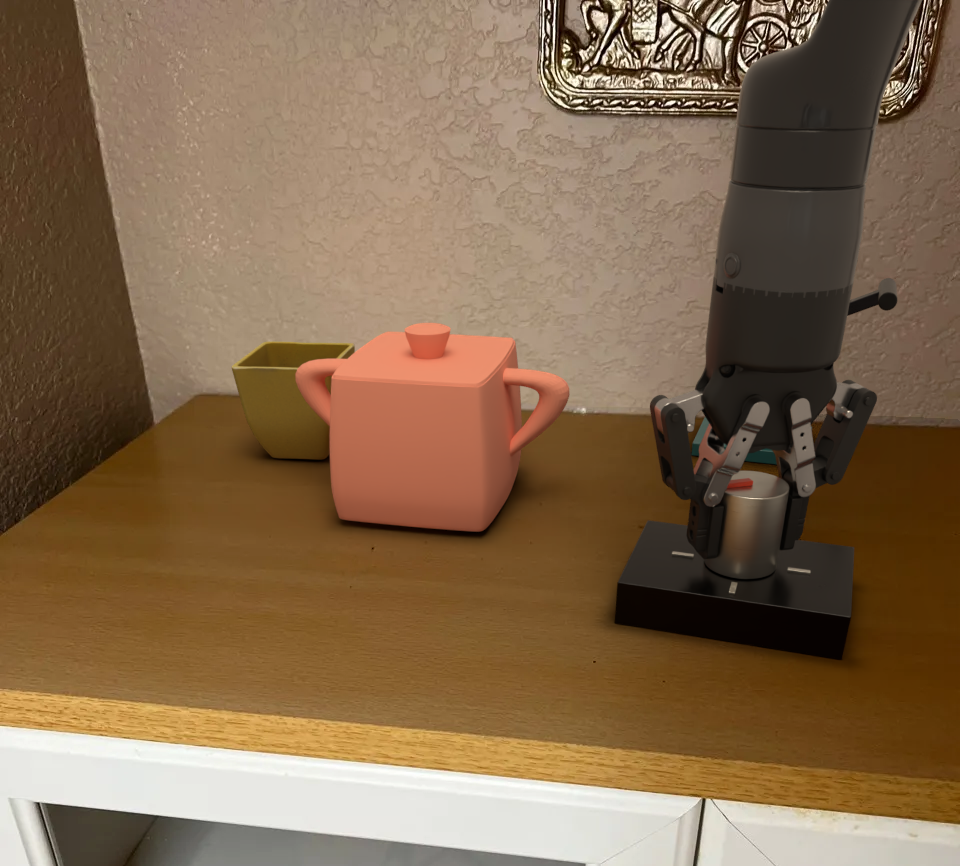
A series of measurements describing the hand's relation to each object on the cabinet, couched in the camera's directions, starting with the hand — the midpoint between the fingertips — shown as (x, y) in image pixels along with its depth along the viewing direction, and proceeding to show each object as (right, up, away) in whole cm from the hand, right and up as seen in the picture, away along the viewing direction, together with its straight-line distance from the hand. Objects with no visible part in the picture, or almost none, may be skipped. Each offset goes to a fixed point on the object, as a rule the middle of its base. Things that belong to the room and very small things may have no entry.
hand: (742, 548), depth 63 cm
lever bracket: (+8, +12, +28) cm, 31 cm away
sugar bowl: (-20, +7, +20) cm, 29 cm away
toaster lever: (+13, +21, +21) cm, 32 cm away
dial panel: (0, -4, +2) cm, 4 cm away
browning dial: (0, -1, +1) cm, 1 cm away
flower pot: (-33, +11, +28) cm, 45 cm away
